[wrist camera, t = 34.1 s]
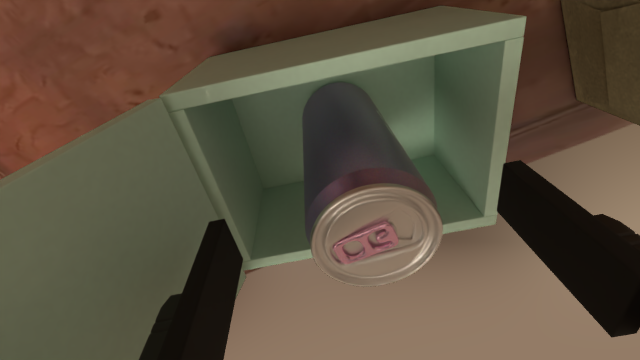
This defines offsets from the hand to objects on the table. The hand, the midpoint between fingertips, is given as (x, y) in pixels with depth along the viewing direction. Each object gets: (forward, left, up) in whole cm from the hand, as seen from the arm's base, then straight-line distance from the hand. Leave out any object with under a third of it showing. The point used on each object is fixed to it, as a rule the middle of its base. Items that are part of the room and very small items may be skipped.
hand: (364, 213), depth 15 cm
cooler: (0, 0, -14) cm, 14 cm away
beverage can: (0, 0, -13) cm, 13 cm away
